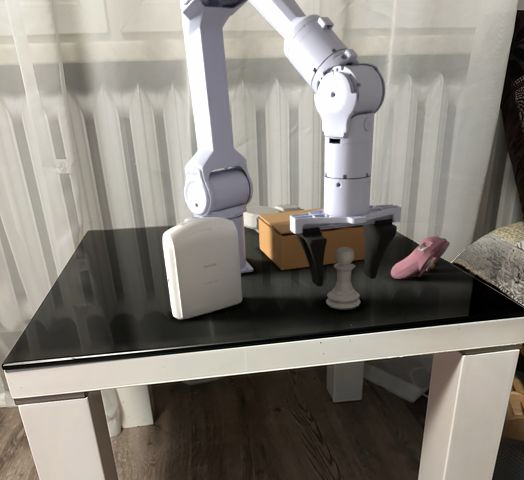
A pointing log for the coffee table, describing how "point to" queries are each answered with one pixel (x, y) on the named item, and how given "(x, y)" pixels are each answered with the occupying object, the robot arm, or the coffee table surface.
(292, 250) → the carton
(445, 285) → the coffee table surface
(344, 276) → the chess piece
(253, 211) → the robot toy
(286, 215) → the flap
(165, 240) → the photo printer
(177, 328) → the coffee table surface
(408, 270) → the pink shoe
